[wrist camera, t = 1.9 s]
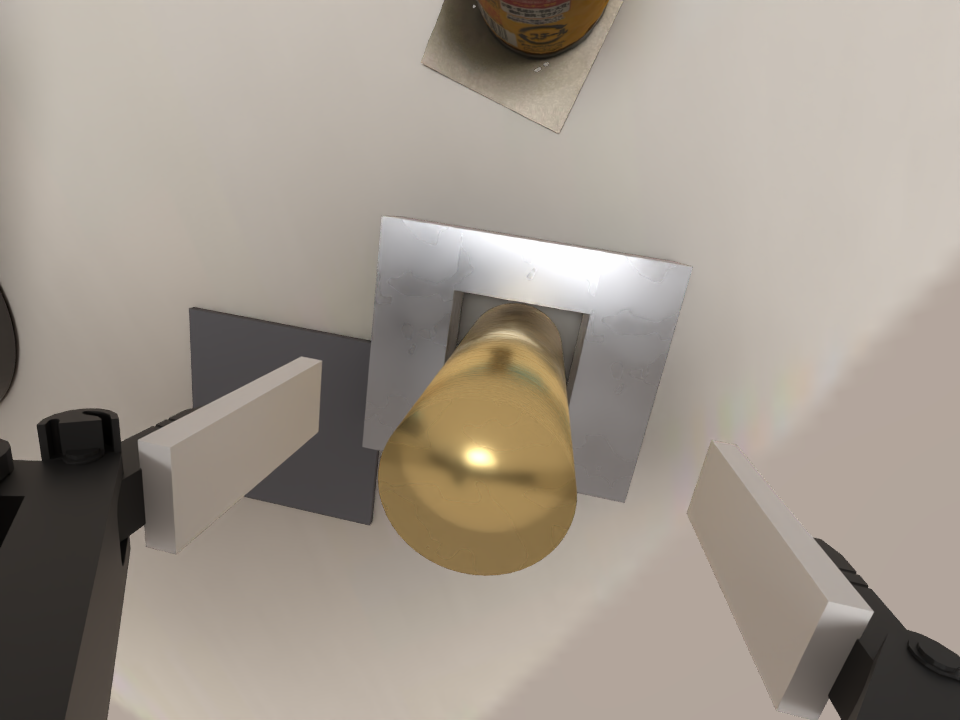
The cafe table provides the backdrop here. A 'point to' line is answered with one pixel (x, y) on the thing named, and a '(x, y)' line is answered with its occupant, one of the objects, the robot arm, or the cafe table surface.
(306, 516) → the cafe table surface
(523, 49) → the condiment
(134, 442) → the robot arm
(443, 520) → the gold rounded cylinder
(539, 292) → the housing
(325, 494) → the mat
